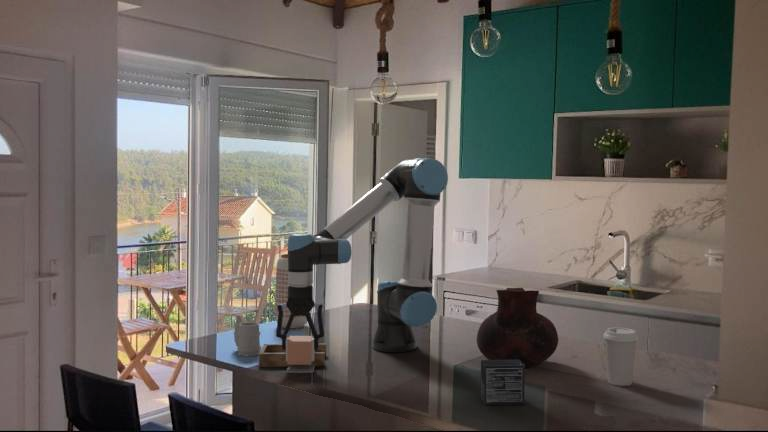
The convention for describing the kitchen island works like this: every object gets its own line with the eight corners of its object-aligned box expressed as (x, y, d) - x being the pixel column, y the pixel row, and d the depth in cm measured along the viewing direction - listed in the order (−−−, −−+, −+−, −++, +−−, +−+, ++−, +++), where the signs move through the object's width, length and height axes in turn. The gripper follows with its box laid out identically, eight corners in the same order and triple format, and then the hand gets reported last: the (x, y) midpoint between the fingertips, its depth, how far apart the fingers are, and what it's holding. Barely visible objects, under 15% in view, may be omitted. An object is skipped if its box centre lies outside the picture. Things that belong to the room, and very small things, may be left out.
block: (310, 364, 207) (311, 341, 207) (287, 364, 207) (287, 341, 207) (312, 358, 214) (312, 335, 214) (289, 358, 214) (289, 335, 214)
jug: (558, 357, 226) (560, 280, 224) (556, 378, 202) (557, 293, 200) (482, 351, 233) (482, 277, 231) (470, 372, 208) (471, 289, 207)
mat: (314, 366, 215) (314, 364, 215) (313, 372, 208) (313, 370, 208) (288, 366, 214) (288, 364, 214) (286, 373, 207) (286, 371, 207)
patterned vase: (272, 324, 274) (271, 253, 273) (305, 322, 278) (305, 252, 277) (277, 331, 262) (277, 257, 260) (312, 329, 266) (312, 256, 264)
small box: (519, 397, 185) (519, 358, 185) (525, 405, 179) (525, 365, 178) (480, 397, 185) (480, 358, 184) (484, 405, 178) (484, 365, 178)
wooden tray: (326, 355, 227) (326, 343, 227) (324, 365, 215) (324, 353, 215) (264, 356, 227) (264, 344, 226) (258, 366, 214) (258, 353, 214)
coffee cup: (609, 375, 205) (610, 325, 204) (642, 381, 199) (643, 330, 198) (596, 383, 198) (597, 331, 197) (630, 389, 192) (631, 336, 191)
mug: (246, 357, 225) (246, 321, 224) (225, 351, 233) (225, 316, 232) (265, 353, 230) (265, 317, 230) (244, 347, 238) (244, 312, 238)
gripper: (333, 283, 214) (333, 356, 215) (268, 283, 213) (268, 356, 214) (333, 287, 206) (332, 363, 207) (265, 286, 205) (265, 363, 207)
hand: (300, 359), depth 211 cm, fingers closed on block, 7 cm apart
